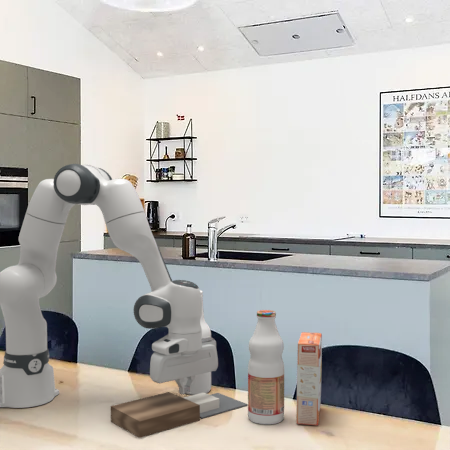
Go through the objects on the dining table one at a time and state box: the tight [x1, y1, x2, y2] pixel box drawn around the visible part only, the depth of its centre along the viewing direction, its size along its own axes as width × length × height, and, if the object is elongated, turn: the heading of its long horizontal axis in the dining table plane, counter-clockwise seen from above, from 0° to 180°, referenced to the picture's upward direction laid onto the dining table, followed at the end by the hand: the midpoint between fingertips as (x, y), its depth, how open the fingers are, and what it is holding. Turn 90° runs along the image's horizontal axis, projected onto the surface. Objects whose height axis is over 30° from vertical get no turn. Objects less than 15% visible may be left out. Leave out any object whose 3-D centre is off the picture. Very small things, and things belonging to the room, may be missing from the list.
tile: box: [183, 392, 219, 413], centre depth 161 cm, size 7×9×2 cm
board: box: [110, 391, 201, 439], centre depth 153 cm, size 14×18×4 cm
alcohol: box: [182, 289, 212, 396], centre depth 177 cm, size 9×9×30 cm
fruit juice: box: [247, 309, 285, 425], centre depth 154 cm, size 9×9×28 cm
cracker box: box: [295, 331, 323, 426], centre depth 156 cm, size 14×6×21 cm, turn 168°
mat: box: [200, 392, 248, 420], centre depth 164 cm, size 13×16×1 cm
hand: (185, 393), depth 159 cm, fingers closed
